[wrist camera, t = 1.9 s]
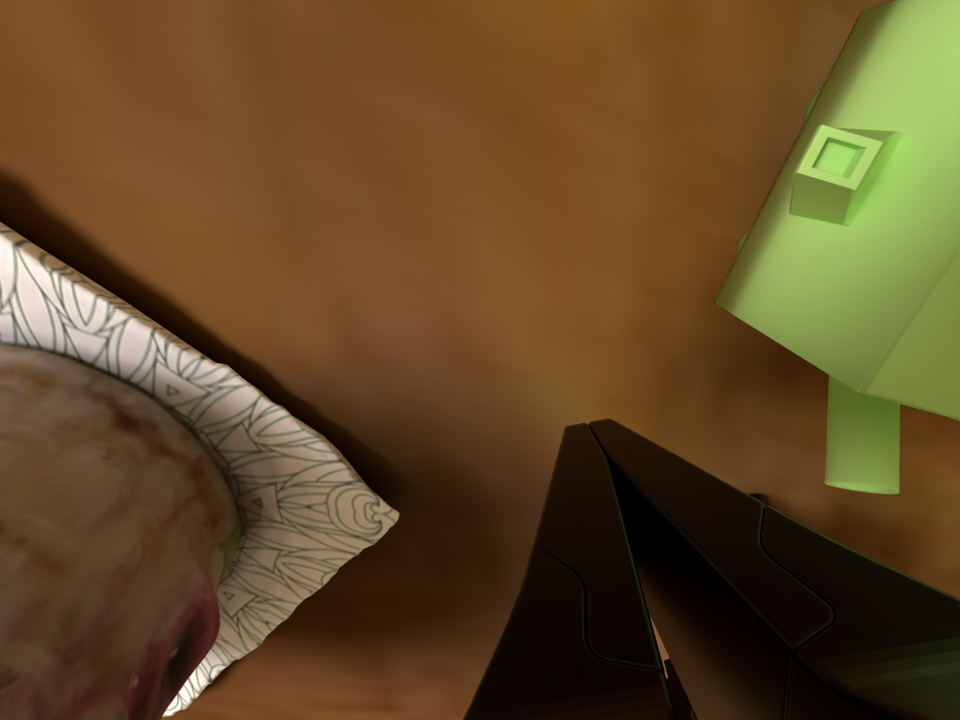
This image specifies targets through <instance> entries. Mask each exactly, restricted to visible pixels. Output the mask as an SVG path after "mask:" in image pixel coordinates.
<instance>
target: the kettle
mask: <svg viewBox="0 0 960 720" xmlns="http://www.w3.org/2000/svg"><path fill="white" fill-rule="evenodd" d="M714 303H715V304H717V305H718V306H720V307H721V308H723V309H725V310H726V311H728V312H729V313H731V314H733V315H734V316H736V317H737V318H739V319H741V320H742V321H744V322H745V323H747V324H749V325H750V326H752V327H753V328H755V329H757V330H758V331H760V332H761V333H763V334H765V335H766V336H768V337H769V338H771V339H773V340H774V341H776V342H777V343H779V344H781V345H782V346H784V347H785V348H787V349H789V350H790V351H792V352H793V353H795V354H797V355H798V356H800V357H801V358H803V359H805V360H806V361H808V362H809V363H811V364H813V365H814V366H816V367H817V368H819V369H821V370H822V371H824V372H825V373H827V374H829V383H828V408H827V434H826V460H825V484H826V485H829V486H833V487H837V488H842V489H847V490H853V491H860V492H868V493H878V494H899V463H900V404H903V405H906V406H910V407H913V408H917V409H921V410H924V411H928V412H931V413H935V414H939V415H942V416H946V417H950V418H953V419H957V420H960V0H894V1H891V2H888V3H885V4H882V5H879V6H876V7H873V8H870V9H867V10H864V11H862V12H861V13H860V15H859V17H858V18H857V20H856V22H855V24H854V26H853V28H852V30H851V32H850V34H849V36H848V38H847V40H846V42H845V44H844V46H843V48H842V50H841V52H840V54H839V56H838V58H837V60H836V61H835V63H834V65H833V67H832V69H831V71H830V73H829V75H828V77H827V79H826V81H825V83H824V85H823V87H822V88H821V89H820V90H819V91H818V92H817V93H816V94H815V95H814V96H813V97H812V99H811V101H810V102H809V104H808V106H807V109H806V112H805V116H804V124H803V126H802V128H801V130H800V132H799V134H798V136H797V138H796V140H795V142H794V144H793V146H792V148H791V150H790V152H789V154H788V156H787V158H786V160H785V162H784V164H783V166H782V168H781V170H780V172H779V174H778V176H777V178H776V180H775V182H774V184H773V186H772V187H771V189H770V191H769V193H768V195H767V197H766V199H765V201H764V203H763V205H762V207H761V209H760V211H759V213H758V215H757V217H756V219H755V221H754V223H753V225H752V227H751V229H749V230H748V231H747V232H746V233H745V234H744V235H743V237H742V238H741V240H740V241H739V243H738V246H737V250H736V259H735V261H734V263H733V265H732V267H731V269H730V271H729V273H728V275H727V277H726V279H725V281H724V283H723V285H722V287H721V289H720V291H719V293H718V295H717V297H716V299H715V301H714Z"/></svg>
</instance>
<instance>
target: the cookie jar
mask: <svg viewBox="0 0 960 720" xmlns="http://www.w3.org/2000/svg"><path fill="white" fill-rule="evenodd" d="M399 514H400V513H399V512H397V511H396V510H394V509H393V508H391V507H390V506H389V505H388V504H387V503H386V502H385V501H383V500H382V499H381V498H380V497H379V496H378V495H377V494H376V493H374V492H373V491H372V490H371V489H370V488H369V487H368V486H367V485H366V484H365V483H364V481H363V480H362V479H361V477H360V476H359V475H358V474H357V472H356V471H355V470H354V469H353V467H352V466H351V465H350V464H349V462H348V461H347V460H346V458H345V457H344V456H343V455H342V453H341V452H340V451H339V450H338V449H337V448H336V447H335V446H334V445H333V444H332V443H330V442H329V441H328V440H327V439H326V438H325V437H324V436H323V435H322V434H320V433H319V432H317V431H316V430H314V429H312V428H311V427H309V426H308V425H306V424H305V423H303V422H302V421H300V420H298V419H297V418H295V417H294V416H292V415H291V414H290V413H289V412H288V411H287V410H286V409H285V408H284V407H282V406H280V405H277V404H275V403H273V402H272V401H271V400H270V399H269V398H268V397H267V396H266V395H264V394H263V393H262V392H261V391H260V390H259V389H257V388H256V387H254V386H253V385H252V384H250V383H249V382H247V381H246V380H244V379H243V378H242V377H241V376H239V375H238V374H237V373H236V372H235V371H234V370H233V369H231V368H230V367H229V366H228V365H225V364H220V363H215V362H214V361H212V360H211V359H209V358H208V357H206V356H205V355H203V354H202V353H200V352H199V351H197V350H196V349H194V348H193V347H191V346H190V345H189V344H187V343H186V342H184V341H183V340H181V339H180V338H178V337H177V336H175V335H174V334H172V333H171V332H169V331H168V330H166V329H165V328H163V327H162V326H161V325H159V324H158V323H156V322H155V321H153V320H152V319H150V318H149V317H147V316H146V315H144V314H143V313H141V312H140V311H138V310H137V309H135V308H134V307H132V306H131V305H130V304H128V303H127V302H125V301H123V300H122V299H120V298H119V297H117V296H116V295H114V294H112V293H111V292H109V291H108V290H106V289H105V288H103V287H101V286H100V285H98V284H97V283H95V282H94V281H92V280H90V279H89V278H87V277H86V276H84V275H82V274H81V273H79V272H78V271H76V270H75V269H73V268H71V267H70V266H68V265H67V264H65V263H63V262H62V261H60V260H59V259H57V258H55V257H54V256H52V255H51V254H49V253H47V252H46V251H44V250H43V249H41V248H40V247H38V246H36V245H35V244H33V243H32V242H30V241H29V240H27V239H26V238H24V237H23V236H21V235H20V234H18V233H16V232H15V231H13V230H12V229H10V228H9V227H7V226H6V225H4V224H3V223H1V222H0V720H160V719H161V718H162V716H163V717H168V716H172V715H173V714H174V713H176V712H177V711H178V710H182V709H186V708H187V707H188V706H189V705H191V704H192V702H193V701H194V700H195V699H196V698H197V697H198V696H199V695H200V694H201V692H202V691H203V690H204V689H205V687H206V686H207V685H208V684H212V681H213V680H214V679H215V678H216V677H217V675H218V674H219V673H220V672H221V671H222V670H223V669H224V668H226V667H227V666H229V665H230V664H231V662H233V661H234V660H238V659H241V658H242V657H243V656H245V655H246V654H248V653H249V652H251V651H252V650H254V649H255V648H257V647H258V646H260V645H261V644H262V643H263V641H264V639H265V638H266V636H267V635H268V634H269V633H271V632H272V631H273V630H274V629H275V628H276V627H277V626H278V625H279V624H280V623H281V622H283V621H285V620H286V619H287V618H288V617H289V616H290V615H291V614H292V613H293V611H294V610H295V608H296V607H297V605H299V604H300V603H301V602H302V601H303V600H304V599H306V598H307V597H309V596H311V595H313V594H314V593H315V592H316V591H317V590H319V589H320V588H321V587H323V586H324V585H325V584H326V583H327V582H328V581H329V580H330V579H331V578H332V577H333V576H334V575H335V574H336V573H337V571H338V569H339V568H340V567H341V566H342V565H344V564H345V563H346V562H347V561H349V560H350V559H351V558H352V557H354V556H357V555H359V553H360V552H361V551H362V550H363V549H365V548H367V547H369V546H372V545H374V544H375V543H376V542H377V541H378V540H379V539H380V538H381V537H382V536H383V535H384V534H385V533H386V532H387V531H388V530H389V528H390V527H392V526H393V525H395V523H396V522H397V520H398V518H399Z"/></svg>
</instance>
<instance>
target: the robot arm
mask: <svg viewBox="0 0 960 720" xmlns="http://www.w3.org/2000/svg"><path fill="white" fill-rule="evenodd" d="M649 614H650V615H649ZM650 616H651V618H652V620H653V623H654V625H655V627H656V629H657V631H658V633H659V636H660V638H661V640H662V642H663V644H664V647H665V649H666V651H667V653H668V655H669V657H670V658H669V659H666V660H664V664H665V667H666V671H667V674H668V678H667V679H666V677H665V671H664V667H663V664H662V660H661V656H660V652H659V649H658V645H657V641H656V637H655V634H654V630H653V626H652V622H651V619H650ZM463 720H960V599H958V598H956V597H954V596H952V595H949V594H947V593H945V592H943V591H941V590H939V589H936V588H934V587H932V586H930V585H928V584H925V583H923V582H921V581H919V580H917V579H915V578H912V577H910V576H908V575H906V574H904V573H902V572H899V571H897V570H895V569H893V568H891V567H888V566H886V565H884V564H882V563H880V562H878V561H875V560H873V559H871V558H869V557H867V556H865V555H863V554H861V553H859V552H857V551H855V550H852V549H850V548H848V547H846V546H844V545H842V544H840V543H838V542H836V541H834V540H832V539H830V538H828V537H826V536H824V535H822V534H820V533H818V532H816V531H814V530H812V529H810V528H809V527H807V526H805V525H803V524H801V523H799V522H797V521H795V520H793V519H791V518H790V517H788V516H786V515H784V514H782V513H781V512H779V511H777V510H775V509H773V508H772V507H770V506H768V503H767V502H766V501H765V500H764V498H763V497H762V496H759V495H755V496H749V495H748V494H746V493H744V492H742V491H740V490H739V489H737V488H735V487H733V486H731V485H730V484H728V483H726V482H724V481H722V480H721V479H719V478H717V477H715V476H713V475H712V474H710V473H708V472H706V471H704V470H703V469H701V468H699V467H697V466H695V465H693V464H692V463H690V462H688V461H686V460H684V459H683V458H681V457H679V456H677V455H675V454H674V453H672V452H670V451H668V450H666V449H665V448H663V447H661V446H659V445H657V444H656V443H654V442H652V441H650V440H648V439H647V438H645V437H643V436H641V435H639V434H637V433H636V432H634V431H632V430H630V429H628V428H627V427H625V426H623V425H621V424H619V423H618V422H616V421H614V420H612V419H602V420H597V421H592V422H590V423H589V424H586V423H581V424H576V425H571V426H567V427H566V428H565V430H564V433H563V437H562V441H561V444H560V448H559V452H558V455H557V459H556V463H555V466H554V470H553V474H552V478H551V481H550V485H549V489H548V492H547V496H546V500H545V503H544V507H543V511H542V515H541V518H540V522H539V526H538V529H537V533H536V537H535V540H534V544H533V548H532V551H531V554H530V558H529V562H528V565H527V569H526V572H525V575H524V578H523V581H522V584H521V587H520V591H519V594H518V596H517V598H516V601H515V603H514V606H513V608H512V611H511V613H510V616H509V618H508V621H507V623H506V625H505V628H504V630H503V632H502V634H501V637H500V639H499V641H498V643H497V646H496V648H495V650H494V652H493V655H492V657H491V659H490V661H489V664H488V666H487V668H486V670H485V673H484V675H483V677H482V679H481V682H480V684H479V686H478V688H477V691H476V693H475V695H474V697H473V700H472V702H471V704H470V706H469V708H468V710H467V712H466V714H465V717H464V719H463Z"/></svg>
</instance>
